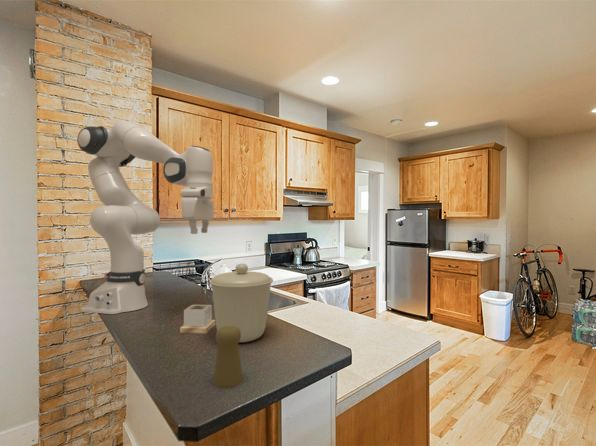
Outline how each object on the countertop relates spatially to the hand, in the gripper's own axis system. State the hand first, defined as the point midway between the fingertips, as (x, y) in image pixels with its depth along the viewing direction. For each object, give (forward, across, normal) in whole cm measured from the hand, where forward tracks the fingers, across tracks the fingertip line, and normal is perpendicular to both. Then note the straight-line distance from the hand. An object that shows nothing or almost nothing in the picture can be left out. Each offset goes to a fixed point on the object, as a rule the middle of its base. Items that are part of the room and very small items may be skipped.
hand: (199, 233), depth 107 cm
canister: (+29, +16, +19) cm, 39 cm away
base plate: (+29, +11, +4) cm, 31 cm away
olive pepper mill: (+29, +41, +22) cm, 55 cm away
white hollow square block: (+28, +11, +4) cm, 30 cm away
